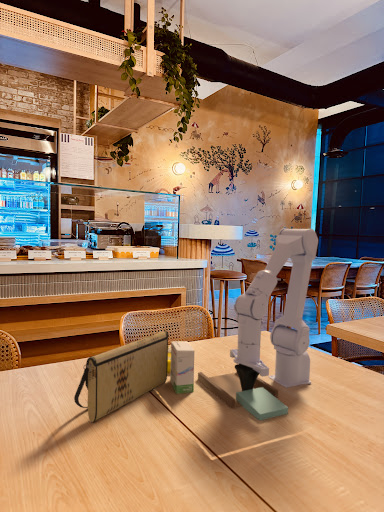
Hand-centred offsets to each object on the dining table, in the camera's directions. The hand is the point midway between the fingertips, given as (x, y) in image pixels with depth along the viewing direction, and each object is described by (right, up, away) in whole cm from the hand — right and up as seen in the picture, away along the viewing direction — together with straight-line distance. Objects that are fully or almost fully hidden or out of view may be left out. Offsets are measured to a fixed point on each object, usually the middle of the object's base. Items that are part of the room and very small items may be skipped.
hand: (247, 393), depth 92 cm
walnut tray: (-2, -1, +4) cm, 4 cm away
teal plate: (+3, -2, -5) cm, 6 cm away
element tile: (-25, 0, +22) cm, 33 cm away
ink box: (-17, -1, +5) cm, 18 cm away
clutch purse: (-31, -1, -2) cm, 31 cm away
